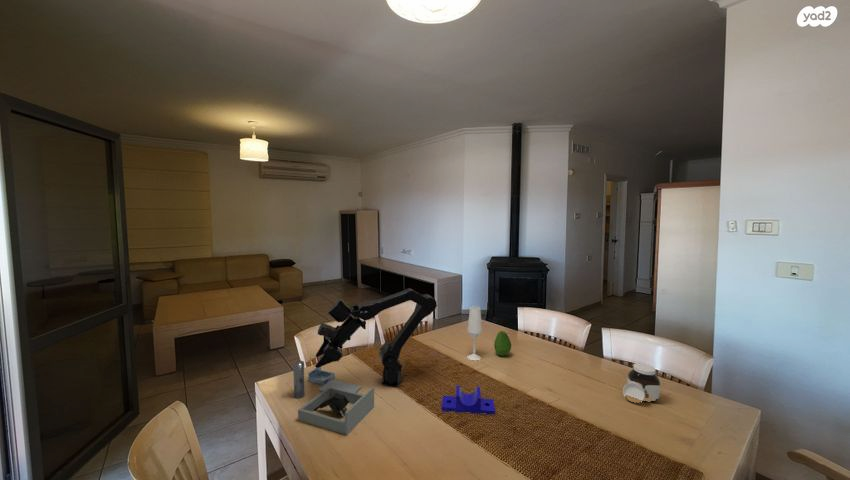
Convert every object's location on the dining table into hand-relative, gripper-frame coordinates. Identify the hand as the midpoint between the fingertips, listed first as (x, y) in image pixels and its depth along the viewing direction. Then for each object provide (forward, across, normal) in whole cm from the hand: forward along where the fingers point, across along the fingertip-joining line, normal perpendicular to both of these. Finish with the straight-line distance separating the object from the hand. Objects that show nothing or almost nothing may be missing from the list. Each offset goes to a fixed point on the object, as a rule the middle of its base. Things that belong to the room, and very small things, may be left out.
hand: (316, 361), depth 122 cm
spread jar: (-72, +38, +89) cm, 121 cm away
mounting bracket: (-27, +24, +45) cm, 57 cm away
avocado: (-51, -10, +68) cm, 86 cm away
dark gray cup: (+13, 0, +4) cm, 14 cm away
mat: (+2, 0, +15) cm, 15 cm away
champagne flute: (-41, -12, +58) cm, 72 cm away
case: (+4, +15, +13) cm, 20 cm away
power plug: (+5, +14, +12) cm, 19 cm away
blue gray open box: (+7, -10, +10) cm, 16 cm away
